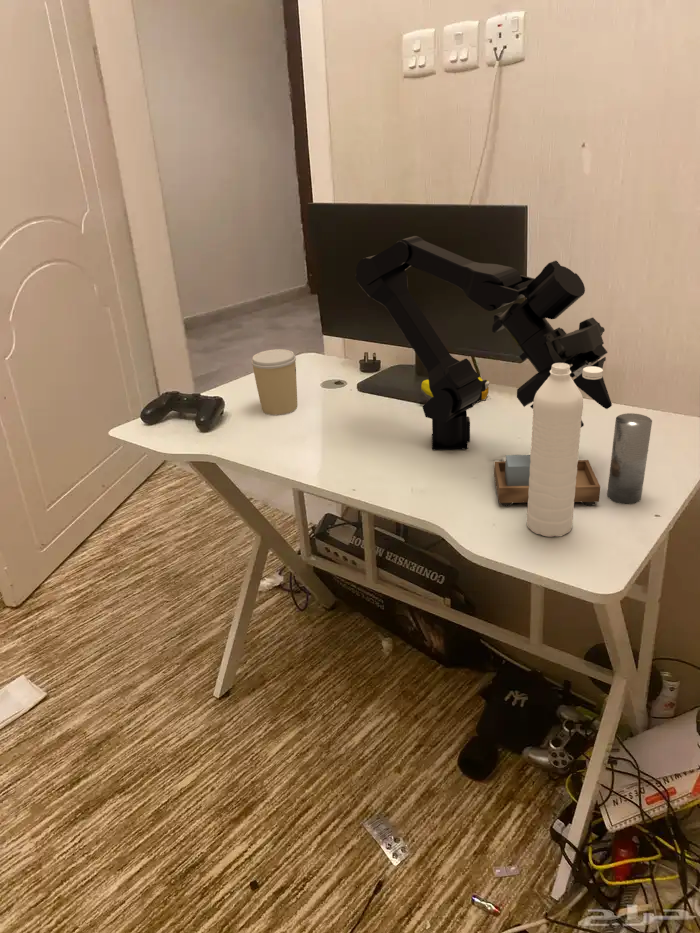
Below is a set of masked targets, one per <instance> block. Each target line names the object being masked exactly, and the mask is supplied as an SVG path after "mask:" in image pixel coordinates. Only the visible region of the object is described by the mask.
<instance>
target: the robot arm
mask: <svg viewBox="0 0 700 933" xmlns="http://www.w3.org/2000/svg"><path fill="white" fill-rule="evenodd" d="M410 267H413V268H415V269H417V270H420V271H422V272H424V273H426V274H428V275H431V276H432V277H435V278H437V279H438V280H439V279H440V280H442V281H444V282H446V283H448V284H451V285H453V286H455V287H457V288H459V289H460V290H462V292H463V293H464V294H465V295H466V297H467V299H468V300H470V301H471V302H472V303H474V304H475V305H477V306H478V307H479V308H482V310H484V311H488V312H491V311H495V310H498V309H500V308H502V307H504V306H507V305H510V304H512V305H511V306H509V307H508V308H507V309H506V310H505V311H504V312H499V313H496V314H494V315H493V324H492V326H491V332H492V333H497V332H499V331H502V330H504V329H505V330H506V331H507V332H508V334H509V335H510V336H511V338H512V339H513V341H514V342H515V344H516V345H517V346H518V347H519V348H520V350H521V351H522V354H520V355H519V356H518V357H519V358H520V359H521V361H522V362H525V361H526V360H528V361H529V362H530V364H531V365H532V366H533V367H534V369H535V370H536V373H535V374H534V375H533V376H532V377H531V378H529V379H528V380H526V382H524V383H523V384H522V385H520V386H519V387H518V388H517V389H516V398H517V400H518V401H519V402H520V404H521V405H522V406H523V407H524V408H525V407H527V406H529V404H531V405H530V406H529V407H530V408H531V409H532V410H533V401H534V397H535V394H536V392H537V391H538V390H539V388H540V387H541V386H542V385H543V383H544V382H545V381H546V380H547V379H548V377H549V376H550V375H551V373H550V370H551V368H552V365H553V364H555V363H566V364H568V365H569V366H570V371H571V373H570V377H571V378H572V380H573V381H574V383H575V384H576V386H577V387H578V389H579V390H580V391H582V392H583V393H584V394H586V395H587V396H588V397H589V398H591V399H592V400H593V401H595V402H596V403H597V404H598V405H600V406H601V407H603V408H604V409H605V410H608V409H610V408H611V407H612V406H613V404H612V401H611V398H610V394H609V392H608V388H607V386H606V383H605V379H604V375H603V376H602V378H600V379H596V380H591V379H586V378H584V377H583V376H582V373H583V368H585V367H590V366H594V367H600V368H602V369H604V363H605V362H606V360H607V358H606V354H608V350H606V348H605V347H604V346H603V345H604V344H605V343H604V339H603V334H604V332H605V327H603V326H601V324H600V322H598V321H597V320H596V319H595V318H594V317H590V318H587V319H584V320H583V321H580V322H579V325H578V329H575V330H574V331H571V332H568V333H567V332H566V331H565V329H563V328H561V327H557V328H555V329H554V328H553V326H552V325H551V324H550V322H549V321H548V320H547V319H549V320H556V319H558V317H560V316H561V315H562V314H563V313H565V311H567V310H568V309H570V307H571V306H573V305H574V303H576V302H577V301H578V300H579V299H580V298H582V296H584V294H585V293H586V292H585V291H586V287H585V284H584V281H583V280H582V279H581V276H579V274H577V273H576V272H573V270H571V269H569V267H566V266H563V265H561V264H560V263H559V261H558V260H553V261H550V262H548V263H547V264H546V265H545V266H544V268H543V269H542V270H541V272H539V273H538V275H537V276H536V277H535V278H534V277H529V276H526V275H521V272H519V271H518V269H516V268H514V267H511V266H507V265H502V264H497V263H485V262H484V263H483V262H476V261H473V260H471V259H469V258H466V257H463V256H461V255H459V254H457V253H455V252H452V251H449V250H447V249H445V248H443V247H440V246H438V245H435V244H433V243H430V242H428V241H426V240H424V239H423V238H422V237H419V236H418V235H413V236H409V237H406V238H403V239H402V238H401V239H399V240H398V241H397V242H396V243H394V244H393V245H390V247H388V248H386V249H384V250H382V251H380V252H379V253H378V254H375V255H371V256H368V257H364V258H361V259H359V261H358V263H357V265H356V271H355V272H356V273H355V280H356V281H357V284H358V285H359V286H360V288H361V289H362V291H364V292H365V294H367V296H368V297H369V298H370V299H372V300H374V301H376V302H377V303H379V304H381V305H382V306H384V307H385V309H386V310H387V311H388V312H389V314H390V316H391V318H392V319H393V321H394V322H395V324H396V325H397V327H398V328H399V330H400V331H401V332H402V335H403V336H404V338H405V339H406V341H407V342H408V343H409V345H410V346H411V348H412V349H413V351H414V352H415V354H416V355H417V357H418V358H419V360H420V362H421V363H422V365H423V367H424V368H425V370H426V371H427V374H428V380H429V388H430V391H431V393H432V395H433V397H432V398H431V399H428V400H427V401H426V402H425V403H424V404H423V405H422V410H423V414H424V417H425V418H428V419H430V420H431V423H432V424H431V425H432V426H431V427H432V429H431V430H432V433H431V450H432V451H443V450H444V451H447V450H449V451H451V450H452V451H453V450H455V451H456V450H468V448H469V447H468V446H469V445H468V443H470V442H471V418H470V417H469V416H468V413H467V410H470V409H472V408H473V407H474V404H475V403H474V402H475V401H476V400H477V399H478V398H479V397H480V394H481V388H482V386H481V383H480V380H479V379H478V378H479V377H480V378H481V375H480V374H478V372H476V370H475V369H474V367H473V365H472V363H471V362H470V360H469V359H468V358H464V359H462V360H459V359H457V358H455V357H454V356H452V355H451V354H450V352H449V351H448V349H447V348H446V345H445V344H444V342H443V341H442V340H441V338H440V336H439V335H438V334H437V333H436V331H435V329H434V328H433V326H432V325H431V323H430V322H429V319H427V317H426V316H425V314H424V312H423V311H422V310H421V309H420V307H419V305H418V304H417V302H416V301H415V299H414V297H413V296H412V294H411V293H410V291H409V284H408V282H409V281H408V274H407V272H406V270H408V269H409V268H410ZM523 298H525V299H524V300H523V301H522V302H516V301H518V300H521V299H523ZM514 302H515V303H514ZM574 377H575V378H574ZM586 377H587V376H586ZM600 377H601V376H600ZM573 378H574V379H573ZM591 378H592V377H591ZM593 378H596V377H593ZM584 426H585V424H584V421H583V420H581V428H583V427H584Z"/></svg>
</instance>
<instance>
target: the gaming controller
mask: <svg viewBox="0 0 700 933" xmlns="http://www.w3.org/2000/svg"><path fill="white" fill-rule="evenodd" d="M478 379H479V380H480V383H481V386H482V388H481V394H480V397H479V398H478V399H477V400H476V401H475V402H474V404H476V403H478V402H480V401H482V400H486V399H487V397H488V395H489V386H490V383H491V382H490V381H489V380H488V379H482V377H481V376H480V377H479V378H478ZM420 391H421V394H423V395H424V396H425V397H426V398H427V399H428V400H430V399H431V398H432V397H433V395H432V393H431V391H430V388H429V379H424V380H422V382H421V385H420Z"/></svg>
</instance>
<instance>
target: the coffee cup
mask: <svg viewBox="0 0 700 933" xmlns="http://www.w3.org/2000/svg"><path fill="white" fill-rule="evenodd" d="M296 361H297V357H296V355H295V353H294V352H293V351H292V350H288V349H284V348H283V349H282V348H281V349H279V348H277V349H275V348H274V349H267V350H263V351H259V352H258V353H256V354H254V355H253V356H252V359H251V366H252V370H253V374H254V380H255V383H256V389H257V393H258V398H259V402H260V404H259V405H260V407H261V411H262V413H263V414H265V415H269V416H273V417H275V416H276V417H277V416H285V415H289V414H291V413H293V412H295V411H296V410H297V408H298V386H297V365H296Z"/></svg>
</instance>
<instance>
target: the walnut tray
mask: <svg viewBox="0 0 700 933" xmlns="http://www.w3.org/2000/svg"><path fill="white" fill-rule="evenodd" d="M505 462H506V460H503V461H502V460H501V461H500V460H499V461H497V460H496V461H495V460H494V462H493V464H494V468H493V473H494V474H493V476H494V482H495V488H496V493H497V499H498V503H499V505H500V506H502V507H510V506H513V503H519V504H520V503H528V498H529V496H528V491H529V486H507V485H506V480H505ZM593 469H594V468H592V465H591V462H590V461H589V460H588V459H578V464H577V476H576V486H575V498H574V503H582V504H583V505H584V506H589V507H591V506H595V505H596V503H598V502H600V494H601V485H600V482H599V481H598V478H597V476H596V474H595V472H594V470H593Z"/></svg>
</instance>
